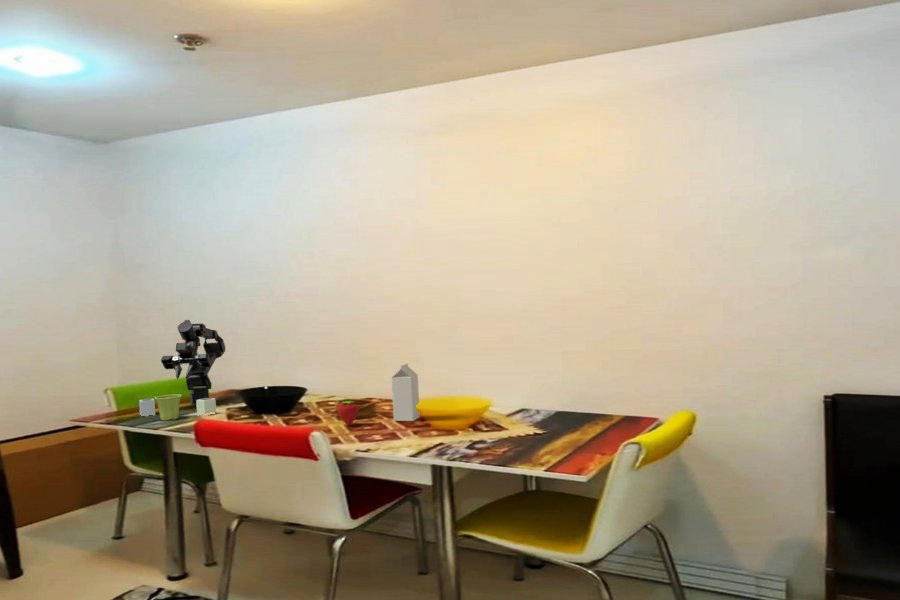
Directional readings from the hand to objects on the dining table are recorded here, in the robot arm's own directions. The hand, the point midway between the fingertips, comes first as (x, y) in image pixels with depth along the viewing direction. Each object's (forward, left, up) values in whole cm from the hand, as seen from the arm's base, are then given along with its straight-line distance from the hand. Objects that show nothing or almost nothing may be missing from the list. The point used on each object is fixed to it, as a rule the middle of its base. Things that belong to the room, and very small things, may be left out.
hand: (181, 378), depth 270 cm
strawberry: (-28, +79, -14) cm, 85 cm away
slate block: (+12, -6, -14) cm, 19 cm away
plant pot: (+9, +11, -14) cm, 20 cm away
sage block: (-4, +14, -14) cm, 20 cm away
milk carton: (-47, +86, -14) cm, 99 cm away
